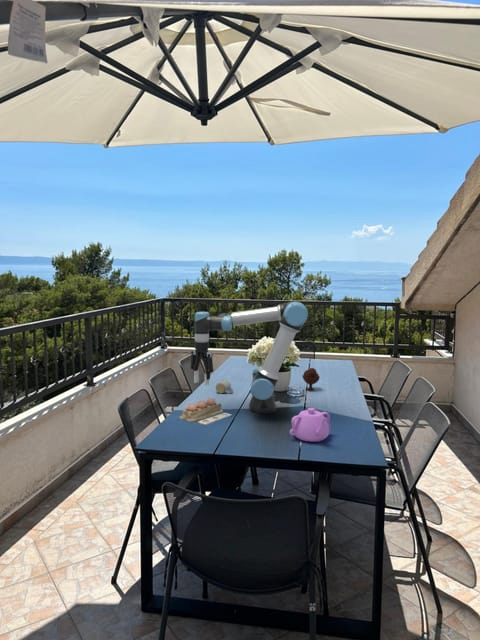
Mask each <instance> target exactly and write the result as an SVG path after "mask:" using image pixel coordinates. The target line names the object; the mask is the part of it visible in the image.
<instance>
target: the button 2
mask: <svg viewBox="0 0 480 640" xmlns="http://www.w3.org/2000/svg"><path fill="white" fill-rule="evenodd" d="M206 402H207V405H209V406H213V405H215V403H216V399H215V398H212V397H210V398H207V399H206Z"/></svg>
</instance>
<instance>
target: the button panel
mask: <svg viewBox="0 0 480 640" xmlns="http://www.w3.org/2000/svg"><path fill="white" fill-rule="evenodd" d="M205 402H206V408H203V409H200V408H197V411H194V412H190V411H188V407H187V408H184V409H181V415H179V417H178V418H179V419H181V420H183V421H187V422H190V423H194V422H199V421H201V420H204V419H207V418H210V417H213V416H216V415H219V414H222V413H224V410H223V409H222V403H218V402H215V405H213V406H209V405H207V401H205Z"/></svg>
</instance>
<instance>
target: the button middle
mask: <svg viewBox="0 0 480 640" xmlns="http://www.w3.org/2000/svg"><path fill="white" fill-rule="evenodd" d="M196 402H197V403H196V405H197V408H200V409H203V408H206V402H207V401H204V400H199V401H196Z"/></svg>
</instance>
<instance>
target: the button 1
mask: <svg viewBox="0 0 480 640" xmlns="http://www.w3.org/2000/svg"><path fill="white" fill-rule="evenodd" d="M187 408H188V411H190V412H194V411H197V403H196V404H195V403H189V404H187Z"/></svg>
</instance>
